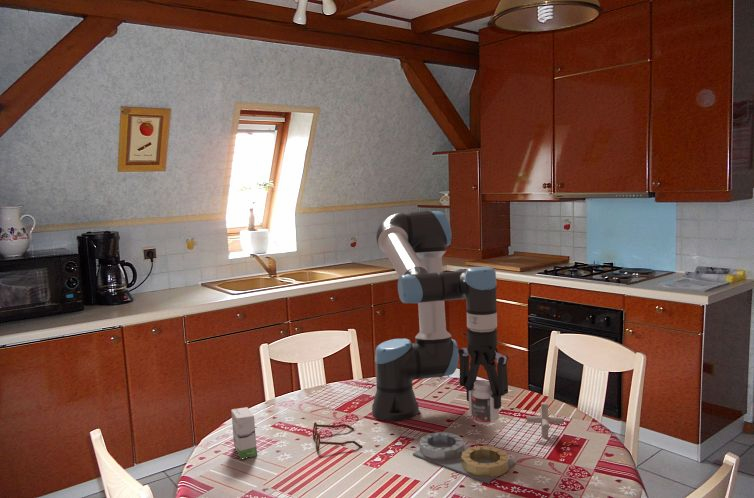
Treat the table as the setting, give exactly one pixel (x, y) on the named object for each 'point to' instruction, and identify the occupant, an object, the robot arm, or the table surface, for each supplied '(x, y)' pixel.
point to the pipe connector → (544, 419)
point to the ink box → (244, 432)
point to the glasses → (330, 442)
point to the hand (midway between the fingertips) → (483, 416)
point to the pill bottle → (481, 402)
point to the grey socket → (441, 453)
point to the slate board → (456, 463)
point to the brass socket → (484, 468)
